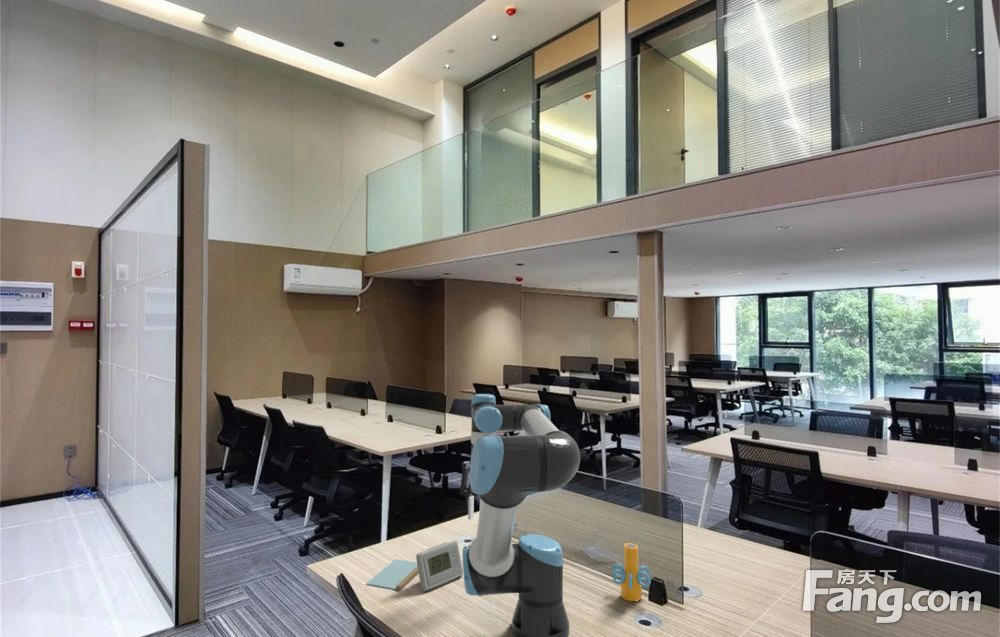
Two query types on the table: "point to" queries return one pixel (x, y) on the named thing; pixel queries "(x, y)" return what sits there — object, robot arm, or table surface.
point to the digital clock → (439, 565)
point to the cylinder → (631, 574)
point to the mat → (395, 575)
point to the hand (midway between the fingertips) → (482, 519)
